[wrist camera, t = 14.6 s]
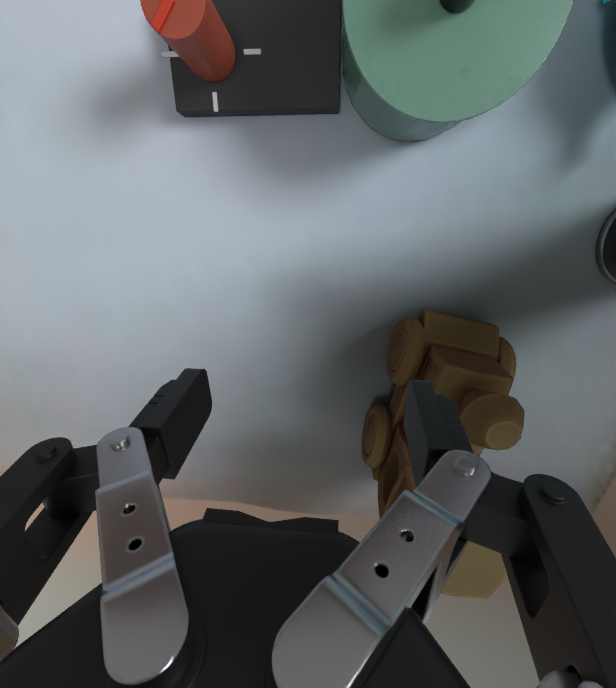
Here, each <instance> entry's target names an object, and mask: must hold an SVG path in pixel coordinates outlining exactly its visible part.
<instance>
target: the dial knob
mask: <svg viewBox="0 0 616 688" xmlns="http://www.w3.org/2000/svg"><path fill="white" fill-rule="evenodd" d="M140 1H141V6H142V10H143V12H144V15H145V17H146V19H147V21H148V22H149V24H150V25H151V26H152V28H153V29H154V30H155V31H156V32H157V33H158V34H159V35H160V36H161V37H162V38H163V39H164V41H165V42H166V43H167V44H168V45H169V46H170V47H171V48H172V49H173V50H174V51H175V52H176V53H177V54H178V56H179V57H180V58H181V59H182V60H183V61H184V62H185V63H186V64H187V65H188V66H189V67H190V68H191V69H192V71H193V72H194V73H195V74H196V75H197V76H198V77H200V78H201V79H203V80H205V81H208V82H218V81H221V80H223V79H225V78H226V77H227V76H228V75H229V74H230V72H231V70H232V68H233V66H234V62H235V47H234V43H233V40H232V38H231V36H230V34H229V33H228V31H227V29H226V27H225V25H224V23H223V21H222V19H221V18H220V16H219V14H218V12H217V10H216V8H215V6H214V4H213V3H212V1H211V0H140Z"/></svg>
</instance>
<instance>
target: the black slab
mask: <svg viewBox="0 0 616 688" xmlns="http://www.w3.org/2000/svg"><path fill="white" fill-rule="evenodd" d="M211 1H212V3H213V4H214V6H215V8H216V10H217V12H218V14H219V16H220V18H221V19H222V21H223V23H224V25H225V27H226V29H227V31H228V33H229V34H230V36H231V38H232V40H233V43H234V47H235V62H234V66H233V68H232V70H231V72H230V74H229V75H228V76H227V77H226V78H225V79H223V80H221V81H218V82H208V81H205V80H203V79H201V78H200V77H198V76H197V75H196V74H195V73H194V72H193V71H192V69H191V68H190V67H189V66H188V65H187V64H186V63H185V62H184V61H183V60H182V59H181V58H180V57H179V56H178V54H177V53H176V52H175V51H174V50H173V49H172V48H171V47H170V46H169V51H166V52H161V54H162V57H163V58H166V57H170V62H171V70H172V78H173V86H174V95H175V103H176V111H177V112H178V113H180V114H181V115H183V116H184V117H209V116H253V115H297V114H338V110H339V76H340V19H341V0H211Z"/></svg>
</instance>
